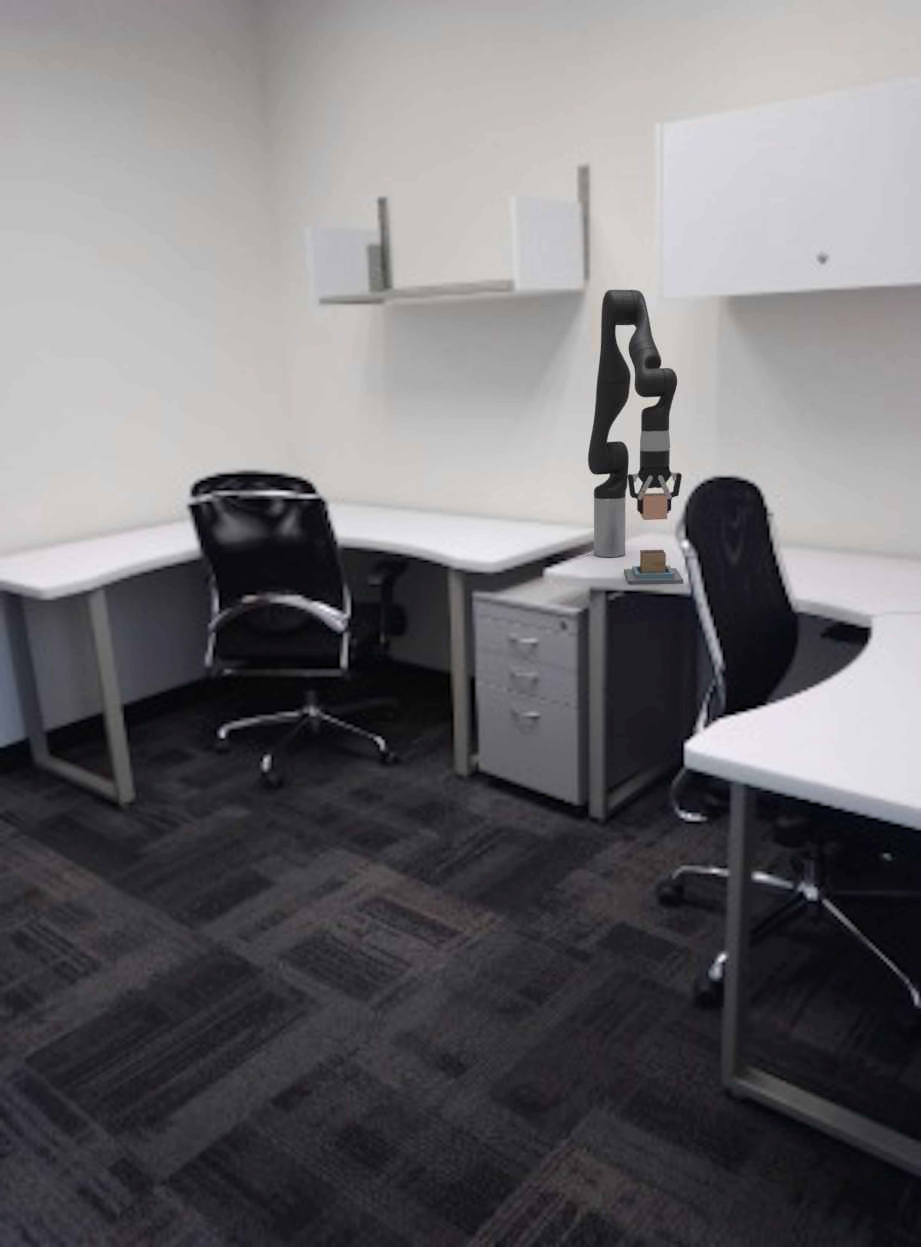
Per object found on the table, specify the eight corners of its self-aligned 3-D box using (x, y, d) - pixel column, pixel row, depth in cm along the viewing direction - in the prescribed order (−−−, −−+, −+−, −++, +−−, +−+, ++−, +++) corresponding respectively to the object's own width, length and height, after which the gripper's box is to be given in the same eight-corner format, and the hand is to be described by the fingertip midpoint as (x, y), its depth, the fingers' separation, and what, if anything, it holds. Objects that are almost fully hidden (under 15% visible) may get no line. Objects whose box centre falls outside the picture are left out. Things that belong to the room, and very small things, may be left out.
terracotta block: (641, 516, 258) (641, 493, 256) (664, 515, 257) (664, 492, 256) (643, 519, 252) (643, 496, 250) (667, 519, 252) (667, 496, 250)
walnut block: (640, 571, 262) (640, 550, 260) (662, 571, 261) (662, 549, 260) (642, 576, 256) (642, 554, 254) (665, 576, 256) (665, 553, 254)
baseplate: (623, 572, 266) (623, 564, 266) (675, 571, 265) (675, 563, 264) (628, 584, 253) (628, 576, 252) (683, 583, 252) (683, 575, 251)
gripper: (681, 446, 253) (679, 510, 257) (625, 447, 254) (624, 511, 258) (685, 448, 246) (683, 514, 250) (628, 450, 247) (627, 516, 251)
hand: (653, 513), depth 254 cm, fingers closed on terracotta block, 6 cm apart
